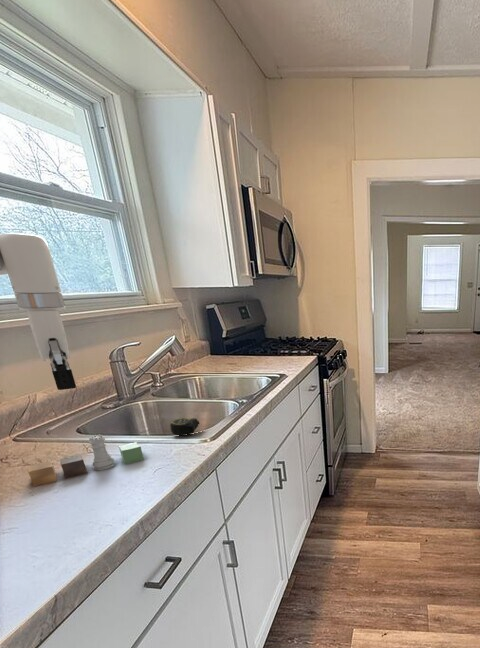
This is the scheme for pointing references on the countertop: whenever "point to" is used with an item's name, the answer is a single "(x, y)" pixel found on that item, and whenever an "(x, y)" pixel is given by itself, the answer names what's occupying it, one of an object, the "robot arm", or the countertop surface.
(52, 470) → the maple block
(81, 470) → the walnut block
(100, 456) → the rook chess piece
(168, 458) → the countertop surface
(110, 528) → the countertop surface
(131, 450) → the sage block
